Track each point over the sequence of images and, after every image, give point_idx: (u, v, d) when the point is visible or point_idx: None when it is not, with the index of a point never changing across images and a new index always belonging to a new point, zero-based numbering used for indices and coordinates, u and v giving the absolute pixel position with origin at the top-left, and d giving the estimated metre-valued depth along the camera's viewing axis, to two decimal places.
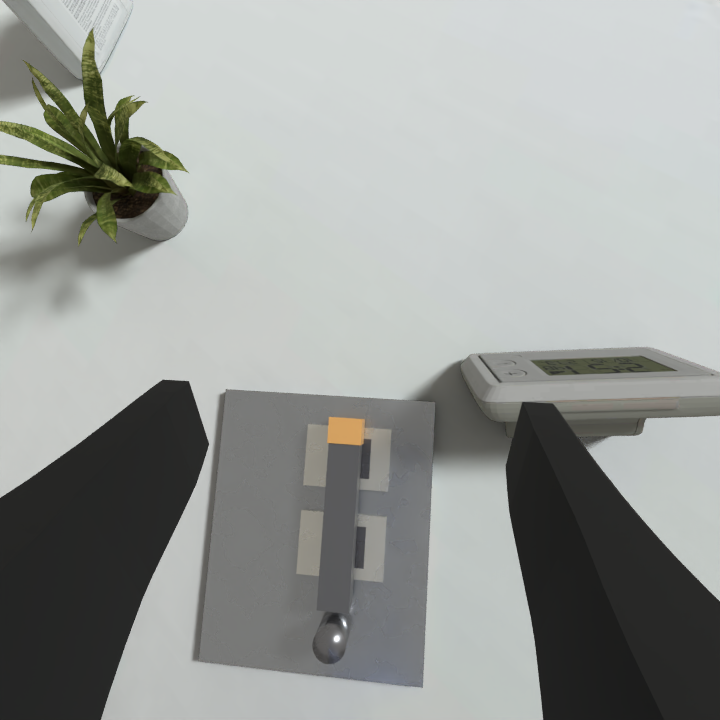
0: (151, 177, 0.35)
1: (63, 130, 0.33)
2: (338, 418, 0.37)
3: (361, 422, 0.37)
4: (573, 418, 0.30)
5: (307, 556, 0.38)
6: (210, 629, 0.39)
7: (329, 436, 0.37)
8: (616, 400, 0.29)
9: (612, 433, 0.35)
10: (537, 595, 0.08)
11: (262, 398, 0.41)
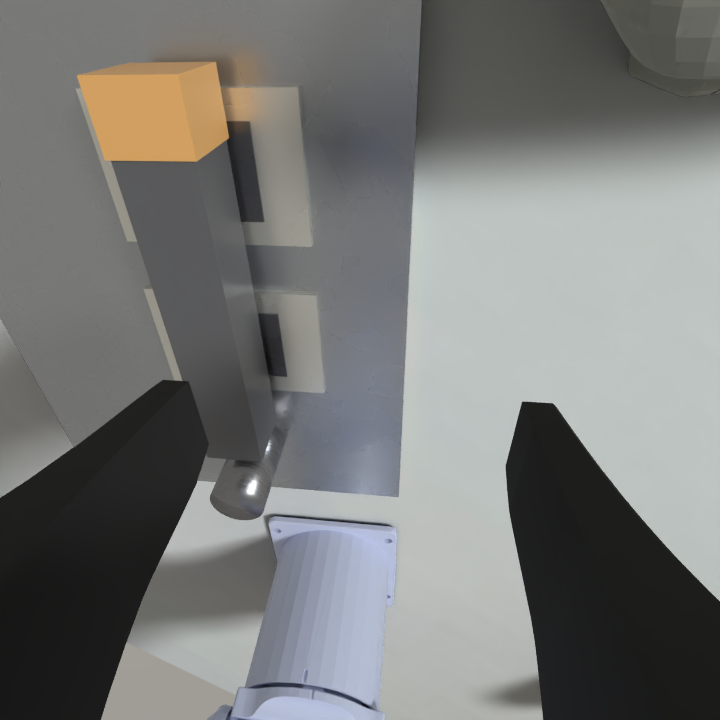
0: None
1: None
2: (106, 78, 0.12)
3: (179, 86, 0.12)
4: None
5: None
6: None
7: (103, 140, 0.13)
8: None
9: None
10: (537, 595, 0.08)
11: None
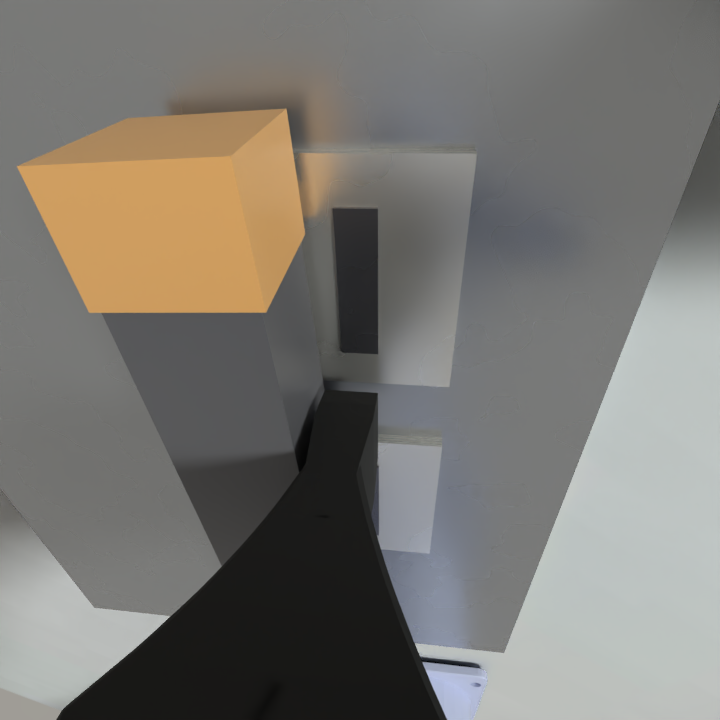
0: None
1: None
2: (79, 170, 0.05)
3: (234, 179, 0.05)
4: None
5: None
6: (89, 581, 0.20)
7: (83, 281, 0.06)
8: None
9: None
10: None
11: None
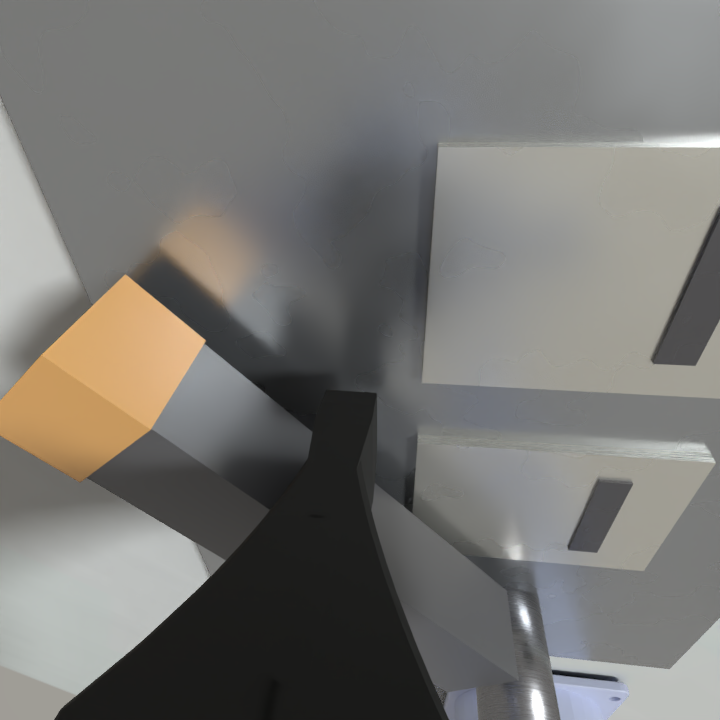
0: None
1: None
2: (0, 407, 0.08)
3: (59, 364, 0.07)
4: None
5: (439, 526, 0.14)
6: None
7: (59, 465, 0.09)
8: None
9: None
10: None
11: (164, 5, 0.07)
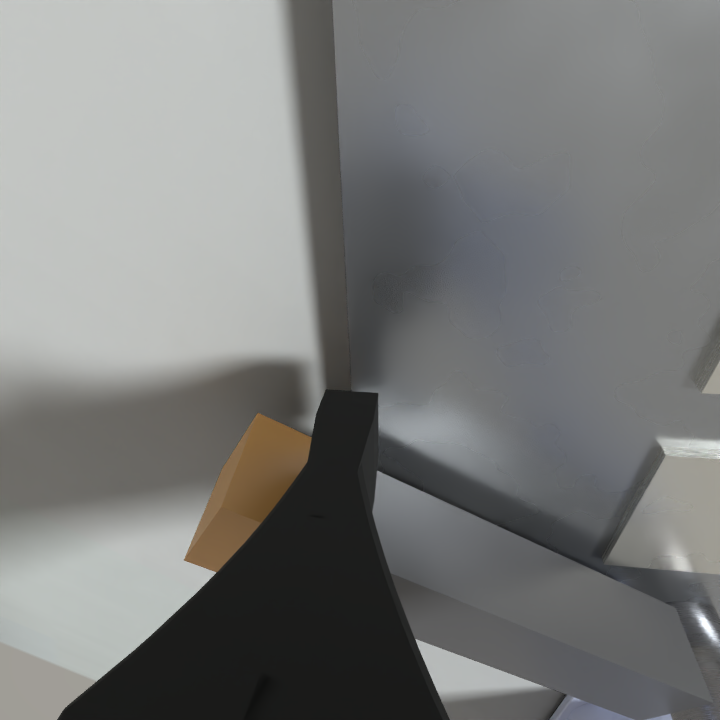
0: None
1: None
2: (197, 546, 0.10)
3: (234, 509, 0.09)
4: None
5: (648, 541, 0.13)
6: None
7: None
8: None
9: None
10: None
11: None
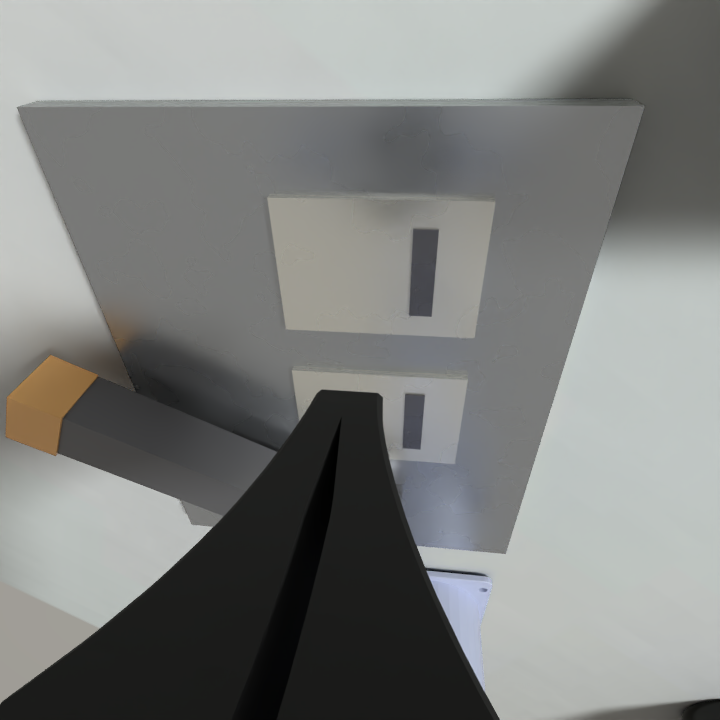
0: None
1: None
2: (8, 426, 0.19)
3: (16, 399, 0.18)
4: None
5: None
6: None
7: (43, 449, 0.19)
8: None
9: None
10: None
11: (126, 128, 0.14)
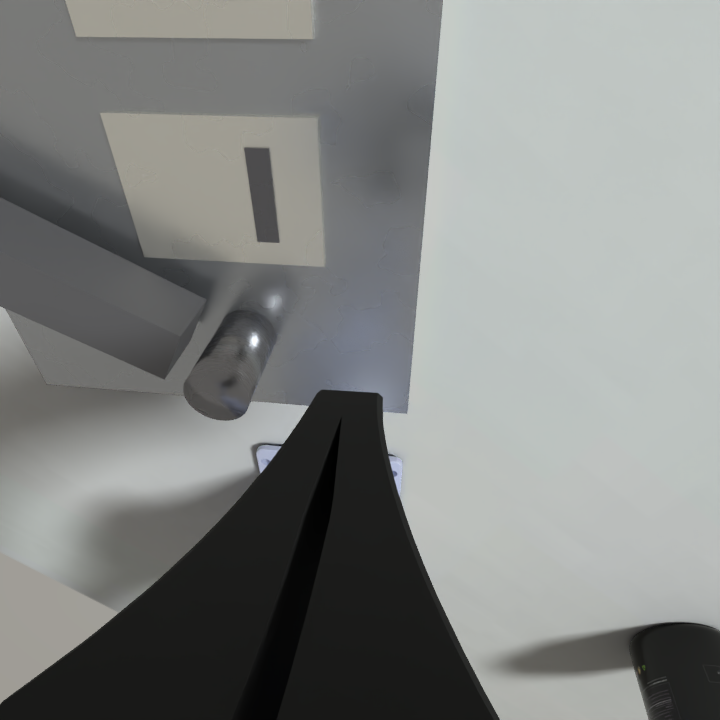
0: None
1: None
2: None
3: None
4: None
5: (154, 222, 0.17)
6: (39, 345, 0.22)
7: None
8: None
9: None
10: None
11: None
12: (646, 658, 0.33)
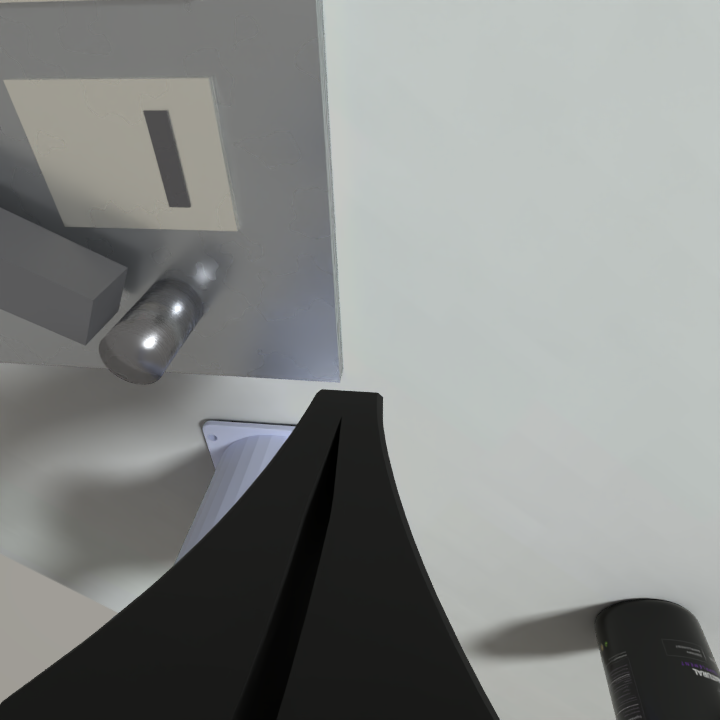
0: None
1: None
2: None
3: None
4: None
5: (69, 190, 0.18)
6: None
7: None
8: None
9: None
10: None
11: None
12: (608, 635, 0.33)
